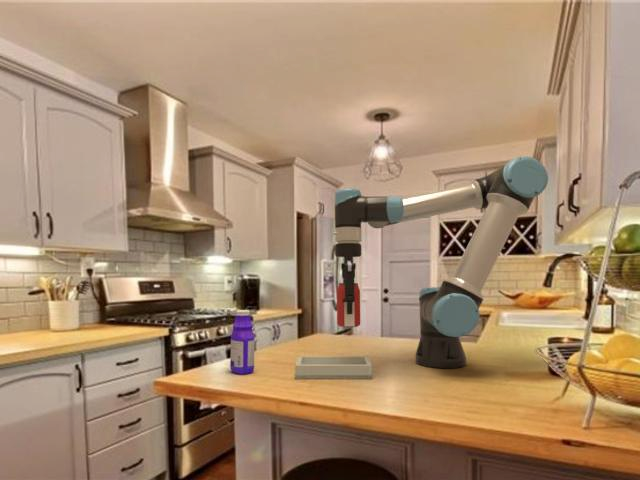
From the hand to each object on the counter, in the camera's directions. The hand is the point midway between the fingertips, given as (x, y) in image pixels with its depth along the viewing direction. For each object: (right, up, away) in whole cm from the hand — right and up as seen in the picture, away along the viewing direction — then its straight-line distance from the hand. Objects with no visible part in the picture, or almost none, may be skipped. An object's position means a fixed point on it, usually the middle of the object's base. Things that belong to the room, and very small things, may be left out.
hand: (348, 324), depth 116 cm
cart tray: (-4, -13, -1) cm, 14 cm away
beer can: (0, -1, 0) cm, 1 cm away
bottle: (-30, -14, +1) cm, 33 cm away
